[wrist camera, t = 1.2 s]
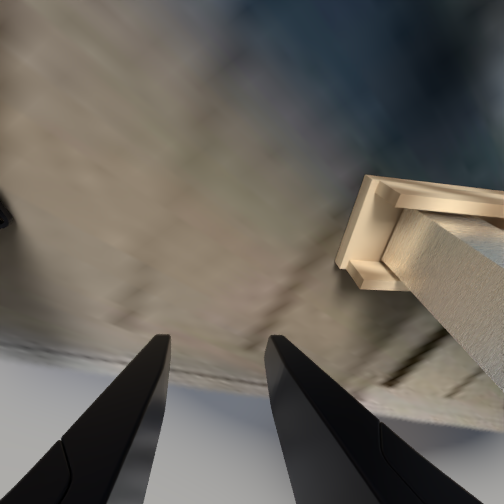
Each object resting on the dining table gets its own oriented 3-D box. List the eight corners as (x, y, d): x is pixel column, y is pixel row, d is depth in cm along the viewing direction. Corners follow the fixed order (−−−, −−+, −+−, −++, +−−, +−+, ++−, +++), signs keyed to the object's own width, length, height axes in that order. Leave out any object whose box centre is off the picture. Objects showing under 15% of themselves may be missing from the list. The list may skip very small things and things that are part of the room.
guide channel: (334, 261, 23) (353, 288, 20) (365, 174, 19) (392, 193, 16) (531, 272, 26) (571, 297, 23) (587, 201, 23) (641, 220, 20)
